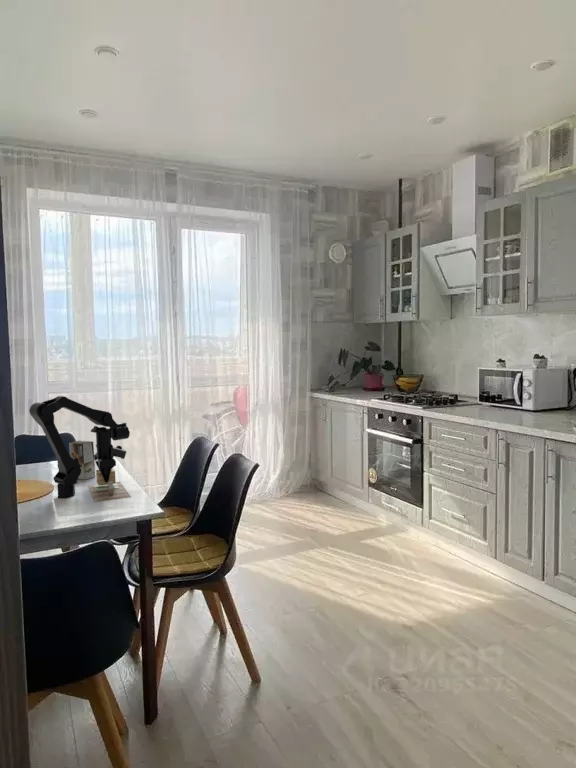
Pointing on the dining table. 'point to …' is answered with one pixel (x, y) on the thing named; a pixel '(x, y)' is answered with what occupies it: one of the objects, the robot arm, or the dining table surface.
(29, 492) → the dining table surface
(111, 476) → the collar
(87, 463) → the coffee box
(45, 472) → the dining table surface
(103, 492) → the board
